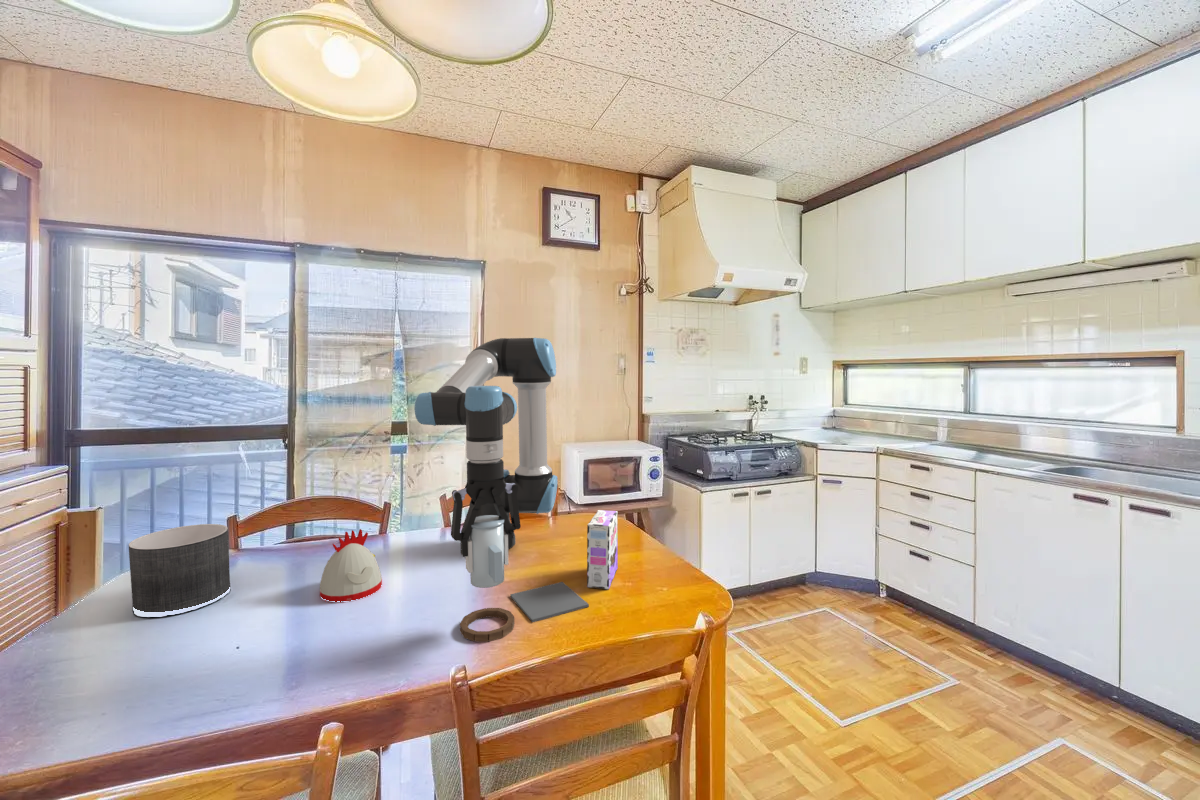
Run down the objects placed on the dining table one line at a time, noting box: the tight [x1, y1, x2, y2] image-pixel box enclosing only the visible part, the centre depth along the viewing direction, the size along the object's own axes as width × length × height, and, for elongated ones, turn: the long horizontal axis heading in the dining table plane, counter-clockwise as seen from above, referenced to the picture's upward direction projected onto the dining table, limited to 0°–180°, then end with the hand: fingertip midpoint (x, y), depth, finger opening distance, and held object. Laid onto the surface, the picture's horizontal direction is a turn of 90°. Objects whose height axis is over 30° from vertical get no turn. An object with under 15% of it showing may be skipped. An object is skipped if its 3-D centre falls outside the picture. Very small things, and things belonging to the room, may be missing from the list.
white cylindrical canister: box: [469, 515, 505, 589], centre depth 101 cm, size 11×7×13 cm, turn 30°
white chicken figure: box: [319, 528, 383, 603], centre depth 121 cm, size 14×14×15 cm
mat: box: [509, 581, 590, 623], centre depth 115 cm, size 14×14×1 cm
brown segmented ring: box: [459, 607, 516, 643], centre depth 103 cm, size 11×11×2 cm
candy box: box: [586, 509, 619, 590], centre depth 127 cm, size 14×6×16 cm, turn 168°
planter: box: [128, 523, 231, 612], centre depth 115 cm, size 18×18×16 cm
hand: (487, 566), depth 103 cm, fingers closed on white cylindrical canister, 7 cm apart
